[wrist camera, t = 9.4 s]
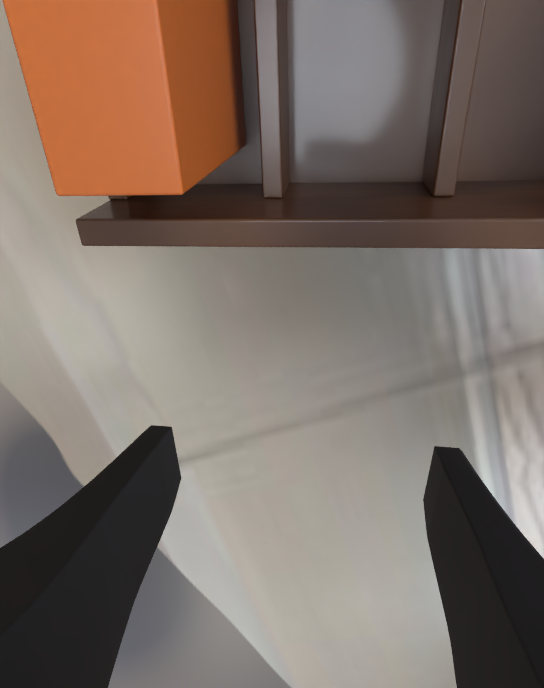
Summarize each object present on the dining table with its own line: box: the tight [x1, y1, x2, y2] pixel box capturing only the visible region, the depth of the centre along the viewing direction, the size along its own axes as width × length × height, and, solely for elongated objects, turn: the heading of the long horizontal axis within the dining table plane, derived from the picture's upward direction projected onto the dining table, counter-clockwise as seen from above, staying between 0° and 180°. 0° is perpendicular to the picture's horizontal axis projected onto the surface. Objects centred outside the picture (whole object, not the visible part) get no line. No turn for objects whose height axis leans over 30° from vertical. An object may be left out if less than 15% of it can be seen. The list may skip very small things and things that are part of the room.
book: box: [3, 0, 246, 196], centre depth 12 cm, size 3×8×8 cm, turn 2°
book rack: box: [76, 0, 544, 249], centre depth 13 cm, size 18×11×6 cm, turn 92°
